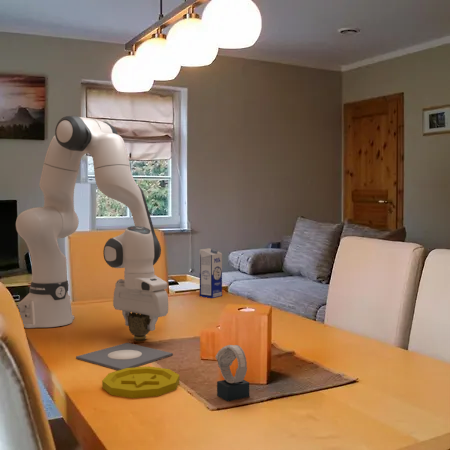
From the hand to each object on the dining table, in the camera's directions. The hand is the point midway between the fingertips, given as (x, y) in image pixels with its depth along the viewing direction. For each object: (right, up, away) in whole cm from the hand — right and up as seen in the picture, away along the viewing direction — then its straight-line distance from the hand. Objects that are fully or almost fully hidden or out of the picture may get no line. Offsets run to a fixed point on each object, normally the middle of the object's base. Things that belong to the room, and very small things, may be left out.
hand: (140, 327), depth 177 cm
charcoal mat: (-2, -5, -18) cm, 18 cm away
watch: (+27, -7, -48) cm, 55 cm away
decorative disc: (+6, -7, -40) cm, 41 cm away
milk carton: (+19, 0, +73) cm, 75 cm away
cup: (0, -4, 0) cm, 4 cm away
